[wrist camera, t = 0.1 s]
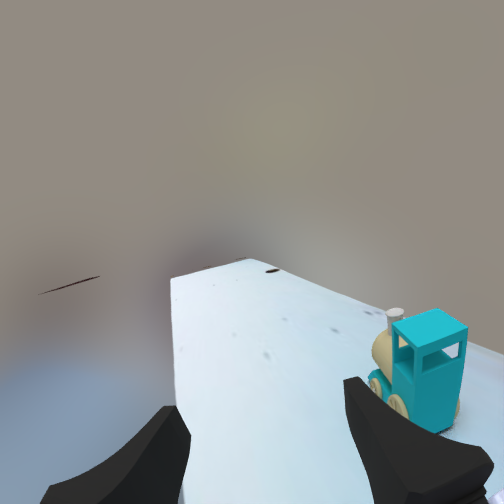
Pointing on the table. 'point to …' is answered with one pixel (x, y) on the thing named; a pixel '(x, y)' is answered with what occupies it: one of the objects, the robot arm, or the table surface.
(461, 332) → the toy train
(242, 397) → the table surface
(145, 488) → the robot arm
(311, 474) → the table surface
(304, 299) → the table surface
